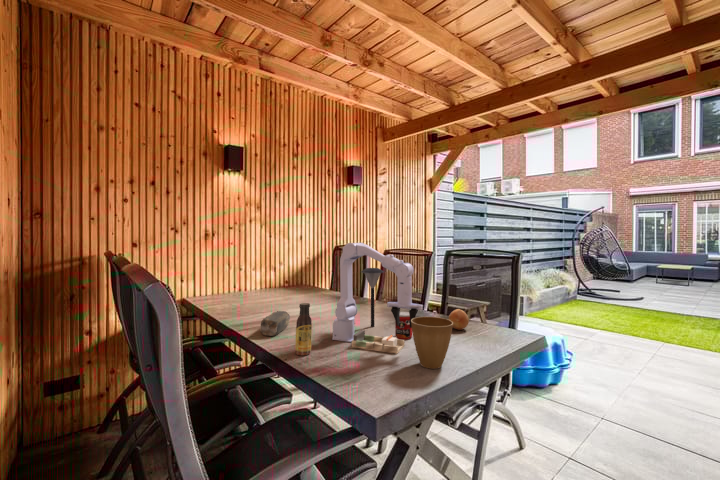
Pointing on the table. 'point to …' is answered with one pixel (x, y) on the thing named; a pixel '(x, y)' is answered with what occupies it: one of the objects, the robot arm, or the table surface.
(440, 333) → the plant pot
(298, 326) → the sauce bottle
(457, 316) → the onion
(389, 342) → the cream gift box
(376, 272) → the solar garden light
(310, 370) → the table surface
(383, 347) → the track
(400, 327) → the canned food
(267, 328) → the stone block
